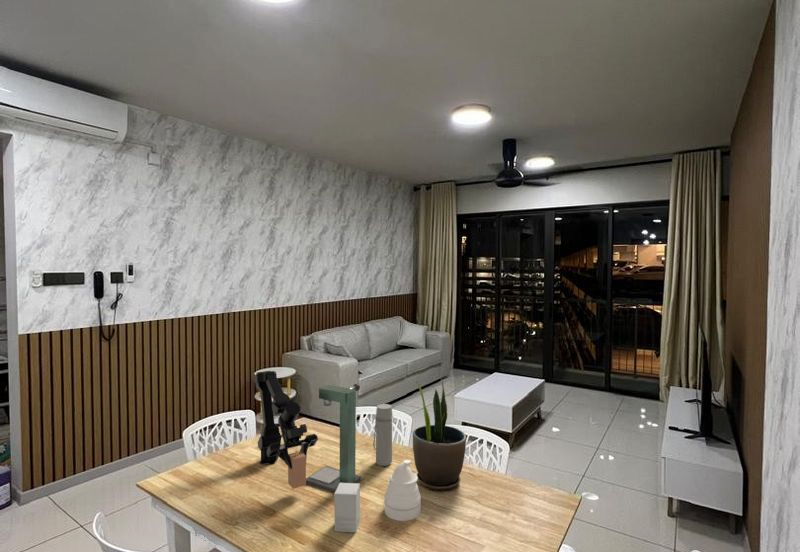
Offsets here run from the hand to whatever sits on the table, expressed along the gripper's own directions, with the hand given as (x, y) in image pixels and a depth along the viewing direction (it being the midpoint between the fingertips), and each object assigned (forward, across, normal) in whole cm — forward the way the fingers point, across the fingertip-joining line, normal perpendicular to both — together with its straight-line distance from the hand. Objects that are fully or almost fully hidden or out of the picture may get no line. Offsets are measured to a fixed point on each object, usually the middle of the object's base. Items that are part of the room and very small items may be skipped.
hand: (298, 466), depth 158 cm
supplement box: (+26, +7, -10) cm, 29 cm away
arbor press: (+5, +19, +11) cm, 22 cm away
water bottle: (+4, +41, +12) cm, 43 cm away
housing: (+4, 0, +6) cm, 7 cm away
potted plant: (+22, +51, -6) cm, 56 cm away
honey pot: (+28, +27, -12) cm, 41 cm away
